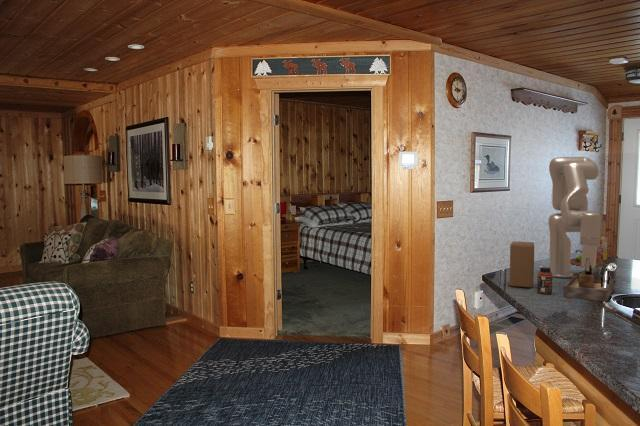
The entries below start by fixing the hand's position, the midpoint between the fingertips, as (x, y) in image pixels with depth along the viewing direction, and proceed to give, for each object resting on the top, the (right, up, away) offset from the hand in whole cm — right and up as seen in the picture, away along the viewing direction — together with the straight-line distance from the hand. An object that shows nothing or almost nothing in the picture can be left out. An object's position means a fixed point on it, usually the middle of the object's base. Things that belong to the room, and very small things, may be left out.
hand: (588, 283), depth 214 cm
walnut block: (-3, -2, -4) cm, 6 cm away
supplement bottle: (-18, -5, +2) cm, 19 cm away
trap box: (+1, -4, +2) cm, 5 cm away
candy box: (+49, +1, +81) cm, 94 cm away
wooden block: (-22, -4, +18) cm, 28 cm away
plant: (+35, 0, +68) cm, 77 cm away
